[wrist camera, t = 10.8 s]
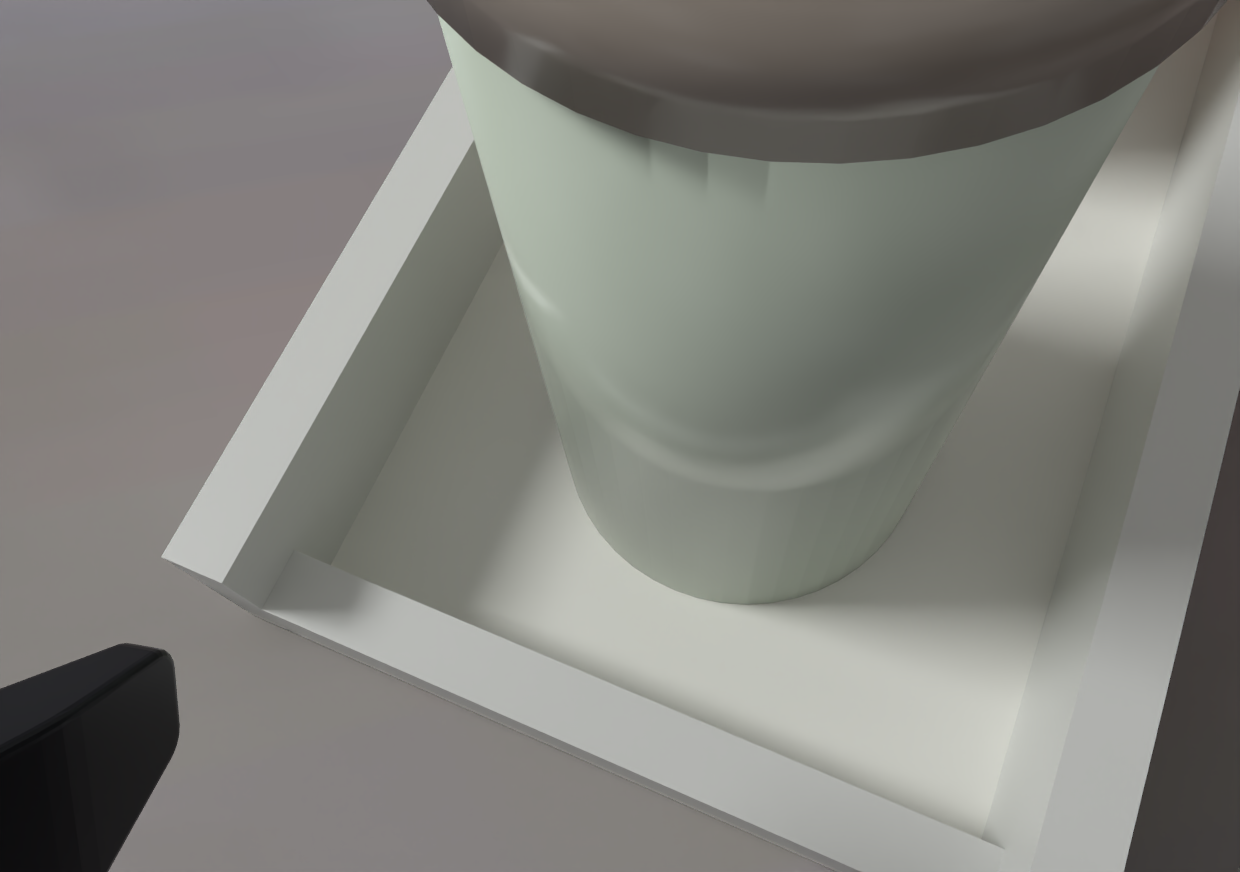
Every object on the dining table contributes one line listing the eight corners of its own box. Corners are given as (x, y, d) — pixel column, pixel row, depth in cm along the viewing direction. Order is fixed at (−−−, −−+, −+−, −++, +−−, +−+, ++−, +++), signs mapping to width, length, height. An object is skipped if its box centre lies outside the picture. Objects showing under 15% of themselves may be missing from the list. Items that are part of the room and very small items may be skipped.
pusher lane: (1018, 951, 16) (1241, 991, 9) (254, 615, 18) (18, 466, 12) (1331, -227, 24) (1559, -629, 18) (781, -340, 27) (808, -725, 21)
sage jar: (749, 701, 17) (891, 244, 5) (479, 433, 19) (112, -354, 7) (1012, 430, 18) (1619, -435, 6) (735, 208, 20) (800, -767, 8)
